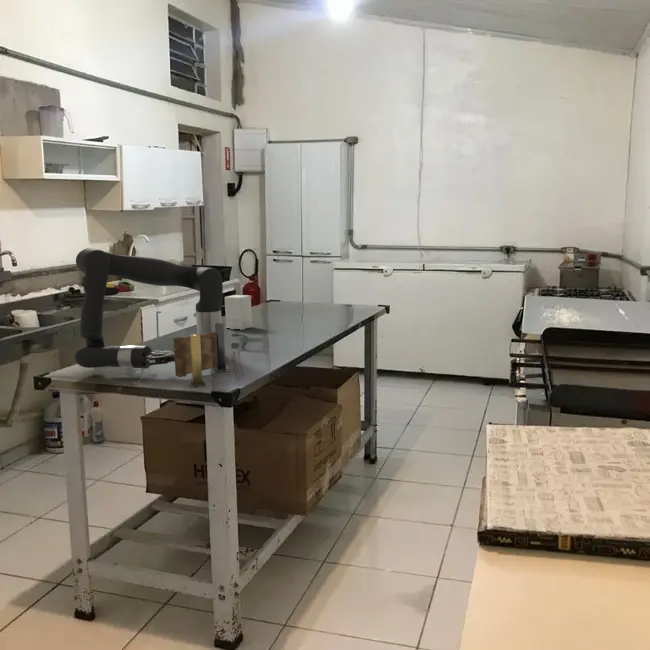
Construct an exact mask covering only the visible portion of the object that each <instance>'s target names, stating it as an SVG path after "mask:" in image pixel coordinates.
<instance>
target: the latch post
mask: <svg viewBox="0 0 650 650" xmlns="http://www.w3.org/2000/svg"><path fill="white" fill-rule="evenodd" d="M189 336H190V341H191V359H192V373H191V375H192V381H191V382H190V387H191V386H204V387H205V385H206V384H205V380H203V371H202V362H201V343H200V334H197V333H196V334H195V333H193V334H190V335H189Z"/></svg>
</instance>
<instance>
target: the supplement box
mask: <svg viewBox="0 0 650 650" xmlns="http://www.w3.org/2000/svg"><path fill="white" fill-rule="evenodd" d="M224 310H225V327H226V328H230V329H229V330H234V329H240V330H239V331H243V330H247V329H250V328H253V316H252V295H248V294H247V295H246V294H245V295H243V294H232V295H227V296H224ZM226 328H225V329H226ZM246 328H247V329H246Z"/></svg>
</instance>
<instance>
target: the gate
mask: <svg viewBox="0 0 650 650" xmlns="http://www.w3.org/2000/svg"><path fill="white" fill-rule="evenodd" d="M200 343H201V362H202V372H203V371H206V370H210V369H212V370H213V369H216V368H218V367H217V347H216V332H209V333H204V334H200ZM172 352H174V356H175V362H174V368H175V369H174V372H175V377H178V378H183V377H187V375H189V374H192V359H191V341H190V335H189V336H183V337H182V336H177V337H173V348H172Z"/></svg>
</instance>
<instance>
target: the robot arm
mask: <svg viewBox="0 0 650 650" xmlns="http://www.w3.org/2000/svg"><path fill="white" fill-rule="evenodd" d="M75 264H76V266H77V268H78V269H79V271H80V272H82V273H83V274H84V275H85V279H86V291H85V296H84V300H83V304H82V307H81V312H80V323H79V325H80V327H79V334H80V337H81V338H83V339H84V340H85V346H82V347H80V348H78V349H77V350H76V351H75V354H74V361H75V363H76V364H77V365H78V366H80V367H82V368H87V369H89V368H91V369H92V368H102V367H110V368H111V367H113V368H126V369H143V370H144V369H149V368H150V367H151V366H155V365H156V366H157V365H163V364H164V365H165V364H169V363H173V362H174V363H175V356H174V352H173V350H172V351H171V350H168V349H164V350H163V351H162V350H156V349H155V350H154V351H153V350H152V348H151V347H150V346H149V345H132V344H131V345H110V346H105V341H104V336H103V325H104V324H103V323H104V304H105V303H104V302H105V297H106V290H107V283H108V280H109V276H114V277H118V278H123V279H126V280H128V281H132V282H136V283H141V284H144V285H145V284H147V285H150V286H151V285H152V286H162V287H163V286H167V287H170V286H172V287H173V286H179V287H183V288H188V289H191V290H195V291H198V292H199V300H198V302H196V303H195V319H196V320H195V321H196V334H204V333H209V332H215V324H216V323H223V322H222V304H223V300H224V299H223V298H224V297H223V296H224V295H223V294H224V293H223V291H224V289H223V287H224V285H223V276H222V274H221V271H219V270H218V269H217V268H214V267H206V266H184V265H179V264H175V263H173V262H171V261H169V260H165V259H159V258H154V257H146V256H140V255H122V254H121V255H120V254H115V253H111V252H107V251H104V250H102V249H100V248H99V249H98V248H95V247H87V248H84V249H83V250H80V251H79V252H78V254H76V257H75Z"/></svg>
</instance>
